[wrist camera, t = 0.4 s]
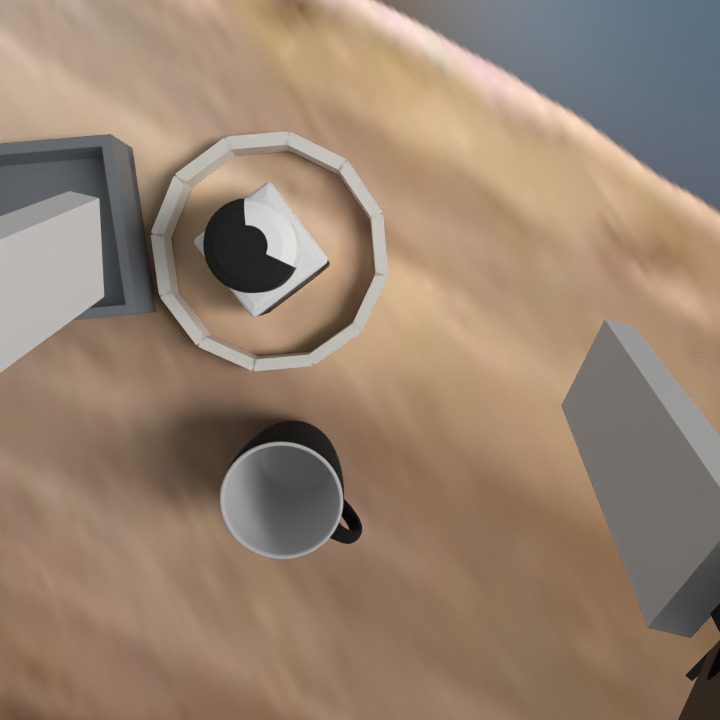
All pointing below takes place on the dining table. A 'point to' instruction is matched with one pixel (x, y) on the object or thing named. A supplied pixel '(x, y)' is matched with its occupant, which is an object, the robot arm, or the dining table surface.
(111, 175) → the tray
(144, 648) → the dining table surface
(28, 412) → the dining table surface
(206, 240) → the medicine bottle
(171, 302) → the ring holder
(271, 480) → the mug
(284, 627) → the dining table surface
